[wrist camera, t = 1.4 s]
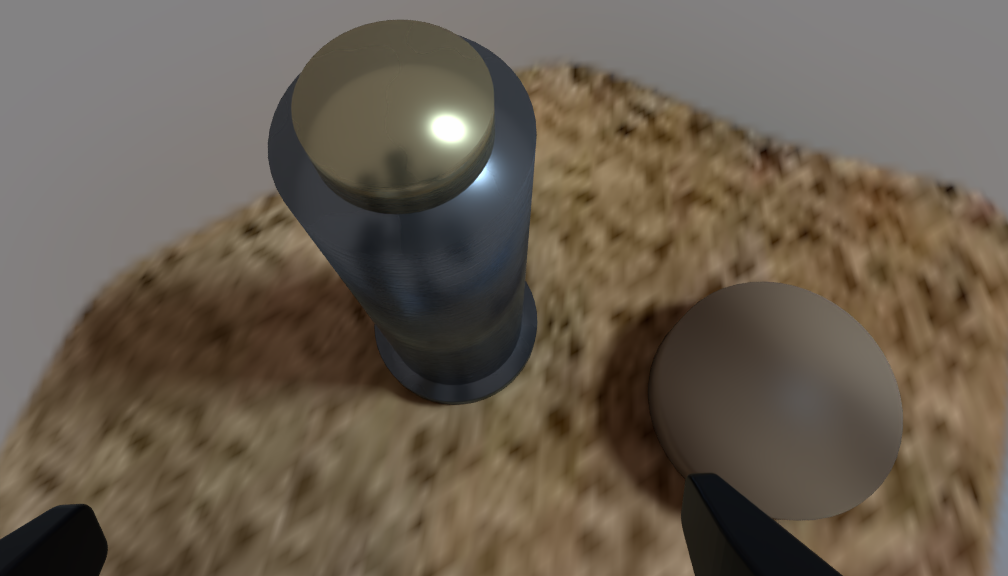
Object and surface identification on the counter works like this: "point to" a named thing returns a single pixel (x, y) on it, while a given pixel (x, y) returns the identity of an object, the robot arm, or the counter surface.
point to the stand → (777, 400)
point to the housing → (418, 198)
